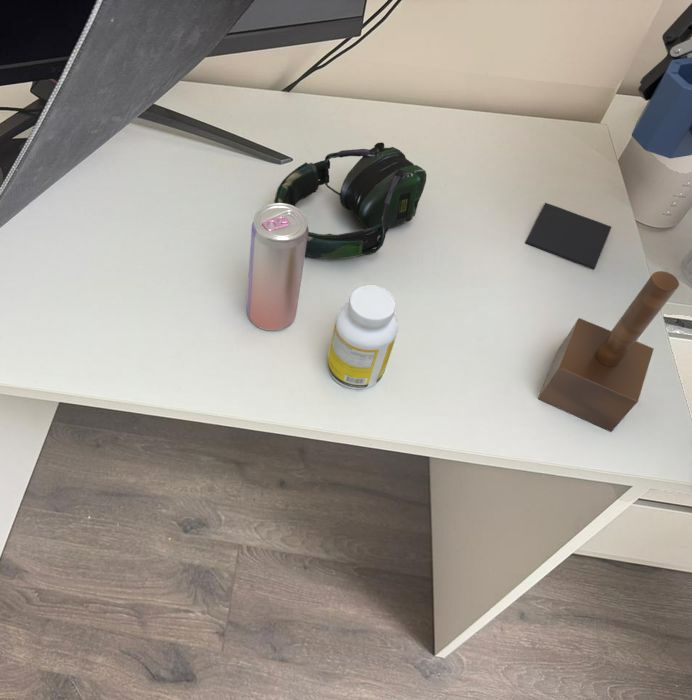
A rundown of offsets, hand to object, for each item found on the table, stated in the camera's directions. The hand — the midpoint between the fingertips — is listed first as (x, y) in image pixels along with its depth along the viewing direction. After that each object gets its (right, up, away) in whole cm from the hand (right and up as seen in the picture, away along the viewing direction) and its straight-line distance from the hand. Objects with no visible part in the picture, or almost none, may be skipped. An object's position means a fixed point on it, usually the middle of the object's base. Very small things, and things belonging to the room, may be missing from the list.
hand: (668, 114), depth 68 cm
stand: (-2, -27, +12) cm, 30 cm away
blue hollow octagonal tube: (+1, -1, +3) cm, 4 cm away
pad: (+3, -7, +27) cm, 28 cm away
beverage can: (-37, -18, +18) cm, 45 cm away
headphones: (-26, -6, +27) cm, 38 cm away
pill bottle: (-28, -25, +13) cm, 39 cm away
